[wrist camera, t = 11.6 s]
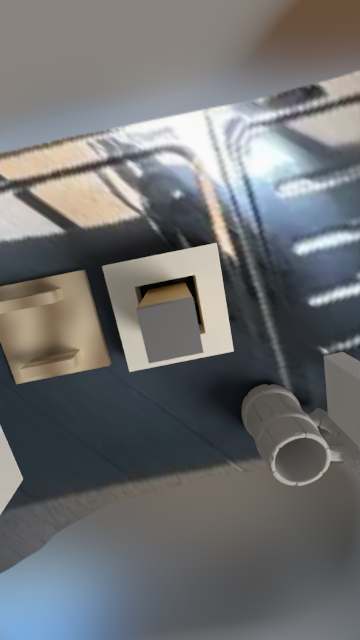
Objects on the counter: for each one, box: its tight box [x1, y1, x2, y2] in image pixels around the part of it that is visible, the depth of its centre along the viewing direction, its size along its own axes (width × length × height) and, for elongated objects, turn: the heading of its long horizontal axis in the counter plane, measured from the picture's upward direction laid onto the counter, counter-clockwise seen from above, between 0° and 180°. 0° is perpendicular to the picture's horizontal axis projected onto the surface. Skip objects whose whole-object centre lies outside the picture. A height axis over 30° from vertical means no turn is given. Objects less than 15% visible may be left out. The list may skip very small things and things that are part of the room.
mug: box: [241, 384, 360, 486], centre depth 31 cm, size 8×12×12 cm, turn 90°
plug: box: [136, 282, 203, 363], centre depth 27 cm, size 4×4×12 cm
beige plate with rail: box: [0, 270, 111, 384], centre depth 31 cm, size 12×12×4 cm
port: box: [102, 243, 234, 372], centre depth 31 cm, size 12×12×4 cm
